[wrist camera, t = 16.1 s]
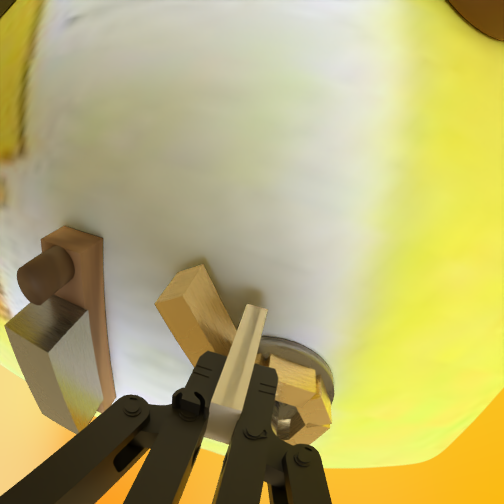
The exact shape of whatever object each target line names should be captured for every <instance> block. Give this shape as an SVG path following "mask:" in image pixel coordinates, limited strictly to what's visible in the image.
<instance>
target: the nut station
mask: <svg viewBox="0 0 504 504" xmlns="http://www.w3.org/2000/svg"><path fill="white" fill-rule="evenodd" d="M257 353H262V355H263V357H264V359H265V361H266V360H267V358H268V357H269V355H270V354H273V355H276V356H278V357H281V358H284V359H286V360H289V361H292V362H295V363H297V364H300V365H303V366H306V367H309V368H311V369H314V370H315V376H316V375H320V374H321V377H322V380H323V382H324V385H325V388H326V390H327V393H328V396H329V399H330V402H331V404H332V401H333V398H334V384H333V376H332V373H331V370H330V368H329V366H328V365H327V364H326V362H325V361H324V360H323V359H322V358H321V357H320V356H319V355H318V354H316V353H315V352H313V351H312V350H310V349H309V348H307V347H305V346H303V345H300V344H298V343H295V342H292V341H289V340H285V339H280V338H275V337H265V336H261V339H260V343H259V347H258V351H257ZM297 412H298V410H297V408H296V406H292V405H289V404H286V403H283V402H280V401H277V400H275V403H274V408H273V414H272V420H271V427H272V430H273V432H274V433H275V435H276V436H277V429H278V420H285V419H291V418H292V417H293V416H294V415H295V414H296V413H297Z"/></svg>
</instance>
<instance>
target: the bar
mask: <svg viewBox="0 0 504 504" xmlns="http://www.w3.org/2000/svg"><path fill="white" fill-rule="evenodd" d="M4 326H5V329H6V332H7V335H8V337H9V340H10V343H11V346H12V348H13V351H14V353H15V356H16V359H17V361H18V363H19V366H20V368H21V371H22V373H23V375H24V377H25V380H26V382H27V384H28V385H29V388H30V390H31V392H32V394H33V396H34V398H35V400H36V402H37V404H38V406H39V408H40V410H41V412H42V414H44V415H45V416H47V417H48V418H50V419H51V420H53V421H55V422H56V423H58V424H60V425H61V426H63V427H65V428H66V429H68V430H70V431H72V432H74V433H75V434H78V433H79V432H80V431H82V430H83V429H84V428H85V427H86V426H87V425H88V424H89V422H90V420H91V419H92V417H93V415H94V414H95V412H96V410H97V409H98V407H99V406H100V404H101V402H102V401H103V399H104V398H103V394H102V389H101V385H100V380H99V375H98V370H97V365H96V360H95V354H94V348H93V342H92V336H91V329H90V321H89V313H88V310H87V309H85V308H83V307H80V306H78V305H76V304H74V303H71V302H69V301H67V300H65V299H63V298H60V297H58V296H56V295H54V294H53V295H52V296H51V297H50V298H49V299H48V300H46V301H45V302H44V303H43V304H42V305H39V306H38V305H35V304H33V303H31V302H30V303H29V304H28V305H27V306H26V307H25V308H23V309H22V310H21V311H20V312H19V313H18V314H17V315H15V316H14V317H13V318H12V319H11V320H10V321H9V322H8V323H6V324H5V325H4Z"/></svg>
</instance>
